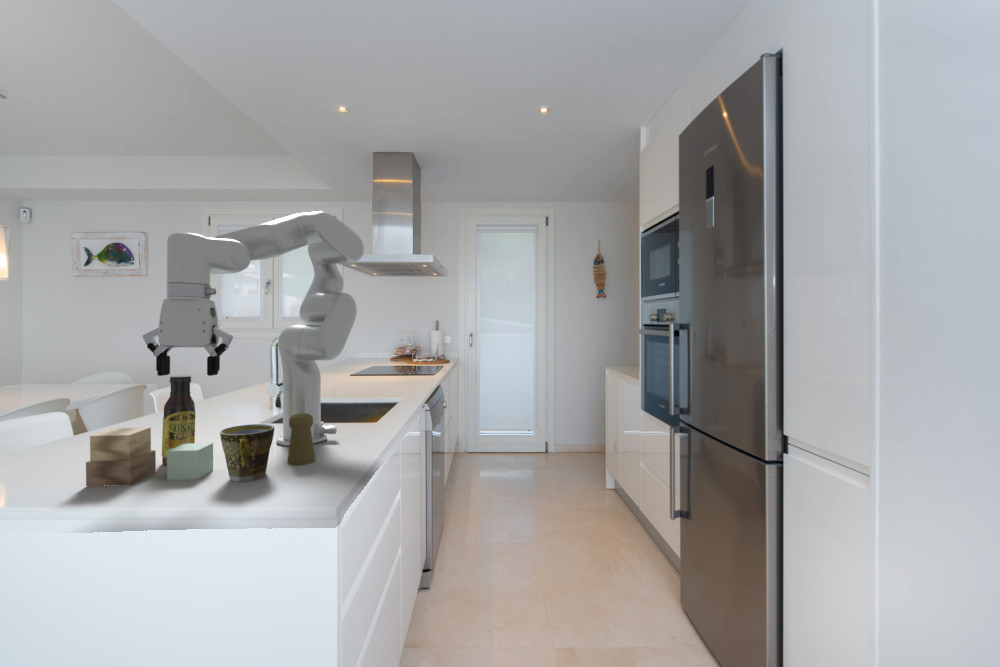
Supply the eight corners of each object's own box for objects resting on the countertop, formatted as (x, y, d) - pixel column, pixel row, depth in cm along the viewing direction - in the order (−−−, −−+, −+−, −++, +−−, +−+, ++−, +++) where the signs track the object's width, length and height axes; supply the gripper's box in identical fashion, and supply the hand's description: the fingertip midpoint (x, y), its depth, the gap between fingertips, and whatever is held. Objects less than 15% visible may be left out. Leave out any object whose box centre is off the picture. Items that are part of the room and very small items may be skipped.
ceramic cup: (225, 472, 101) (224, 426, 101) (276, 467, 104) (276, 422, 104) (212, 492, 89) (212, 439, 88) (271, 486, 92) (270, 435, 92)
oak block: (150, 450, 100) (150, 427, 100) (129, 460, 93) (129, 435, 93) (114, 452, 99) (114, 428, 99) (90, 461, 92) (90, 436, 92)
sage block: (213, 470, 103) (213, 443, 102) (198, 479, 97) (198, 450, 96) (184, 471, 102) (183, 443, 102) (167, 480, 96) (167, 450, 96)
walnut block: (155, 473, 100) (155, 450, 100) (130, 486, 92) (130, 461, 92) (115, 474, 100) (115, 451, 100) (86, 487, 92) (85, 462, 92)
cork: (320, 458, 112) (319, 411, 112) (307, 465, 106) (306, 416, 106) (295, 457, 112) (295, 411, 112) (281, 464, 106) (281, 416, 106)
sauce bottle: (167, 468, 104) (166, 378, 103) (157, 463, 107) (156, 376, 107) (200, 461, 109) (199, 375, 109) (189, 456, 113) (189, 373, 112)
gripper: (240, 295, 103) (239, 373, 103) (156, 294, 101) (155, 373, 101) (223, 292, 96) (223, 376, 96) (132, 291, 94) (131, 377, 94)
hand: (188, 375), depth 99 cm, fingers open, 9 cm apart
